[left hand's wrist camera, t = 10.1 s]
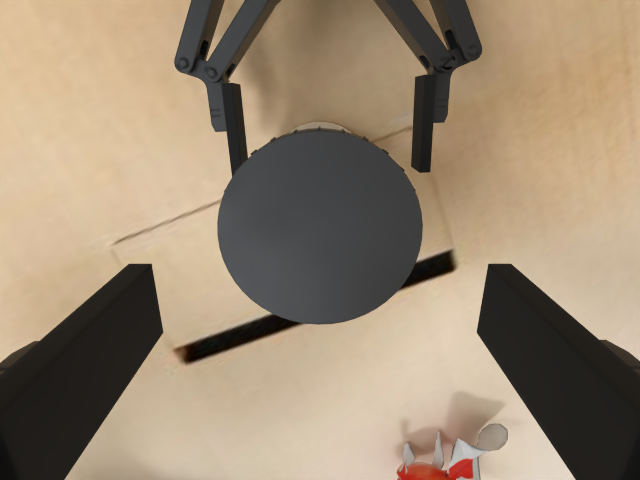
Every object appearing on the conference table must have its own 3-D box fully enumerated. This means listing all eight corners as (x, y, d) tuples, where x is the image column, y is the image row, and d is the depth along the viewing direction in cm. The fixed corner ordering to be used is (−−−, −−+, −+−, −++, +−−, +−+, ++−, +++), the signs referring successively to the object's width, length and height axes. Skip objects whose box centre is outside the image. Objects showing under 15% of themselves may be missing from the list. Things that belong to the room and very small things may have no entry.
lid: (244, 316, 23) (238, 334, 21) (206, 140, 19) (194, 144, 17) (417, 298, 22) (425, 315, 21) (412, 114, 19) (421, 116, 17)
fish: (363, 447, 41) (427, 546, 34) (470, 373, 46) (545, 446, 39) (369, 483, 48) (423, 572, 41) (461, 415, 52) (524, 484, 45)
